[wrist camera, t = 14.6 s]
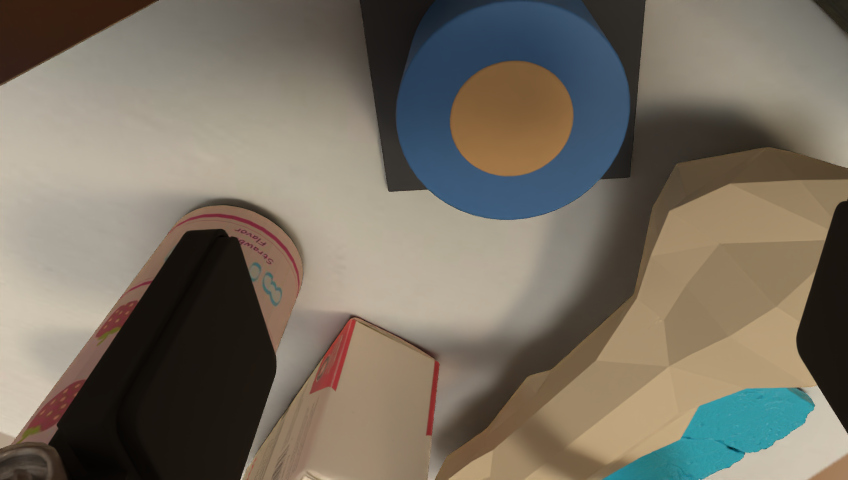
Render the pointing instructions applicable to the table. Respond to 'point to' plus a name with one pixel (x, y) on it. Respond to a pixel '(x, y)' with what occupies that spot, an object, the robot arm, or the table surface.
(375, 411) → the ink box
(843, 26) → the model
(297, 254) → the beverage can
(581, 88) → the tape
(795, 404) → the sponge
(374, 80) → the mat
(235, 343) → the robot arm
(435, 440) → the table surface
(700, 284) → the faceted club
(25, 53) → the tall wooden box
